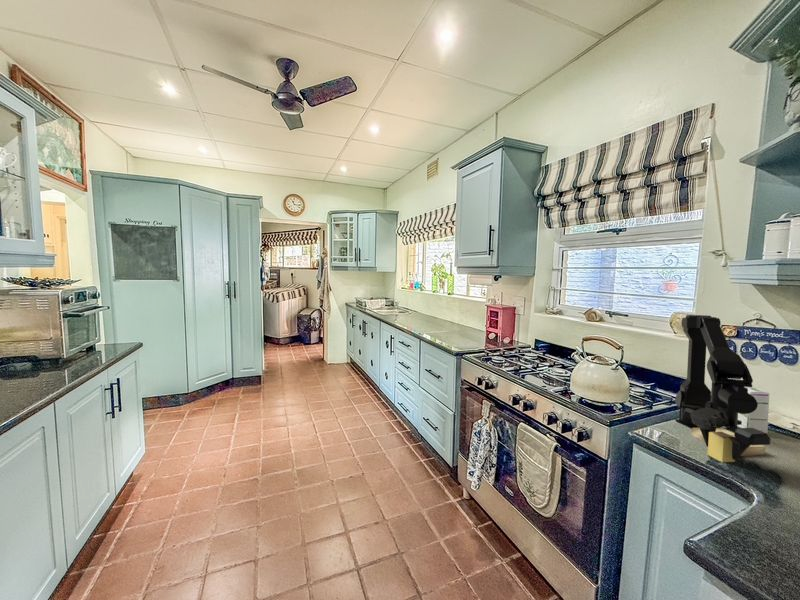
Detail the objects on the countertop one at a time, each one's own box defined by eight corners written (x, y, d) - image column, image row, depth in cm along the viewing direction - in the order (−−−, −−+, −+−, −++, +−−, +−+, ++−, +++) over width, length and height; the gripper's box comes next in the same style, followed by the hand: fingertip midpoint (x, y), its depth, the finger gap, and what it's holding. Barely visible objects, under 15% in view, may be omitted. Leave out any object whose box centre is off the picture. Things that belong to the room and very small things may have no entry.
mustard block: (707, 454, 96) (709, 431, 96) (719, 454, 96) (721, 430, 96) (722, 462, 92) (723, 437, 92) (734, 461, 92) (736, 437, 92)
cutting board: (691, 435, 108) (691, 427, 108) (718, 433, 109) (718, 426, 109) (734, 456, 95) (735, 448, 95) (764, 454, 96) (765, 446, 96)
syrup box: (768, 434, 108) (771, 392, 107) (747, 433, 109) (750, 391, 109) (753, 427, 114) (756, 387, 113) (733, 425, 115) (736, 386, 114)
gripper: (669, 390, 102) (666, 438, 103) (735, 415, 83) (731, 473, 84) (701, 389, 103) (698, 437, 104) (774, 413, 84) (769, 471, 85)
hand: (721, 453), depth 94 cm, fingers open, 7 cm apart
